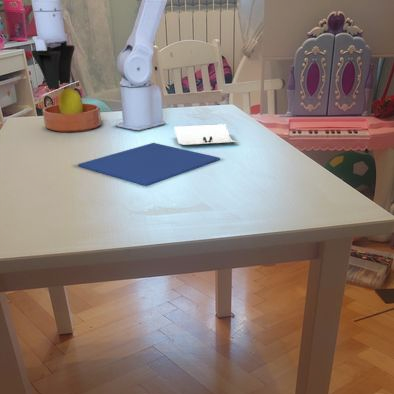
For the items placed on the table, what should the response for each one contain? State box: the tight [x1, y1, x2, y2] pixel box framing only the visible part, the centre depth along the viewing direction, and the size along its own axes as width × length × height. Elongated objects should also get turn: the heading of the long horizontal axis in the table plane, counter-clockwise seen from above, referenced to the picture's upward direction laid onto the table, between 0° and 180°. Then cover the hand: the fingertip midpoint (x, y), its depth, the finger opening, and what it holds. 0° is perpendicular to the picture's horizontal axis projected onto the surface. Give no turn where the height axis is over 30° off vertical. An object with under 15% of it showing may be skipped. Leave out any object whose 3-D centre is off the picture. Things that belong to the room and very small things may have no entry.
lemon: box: [58, 86, 83, 114], centre depth 116 cm, size 6×6×8 cm
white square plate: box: [173, 123, 240, 146], centre depth 106 cm, size 12×12×2 cm
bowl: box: [42, 102, 102, 133], centre depth 117 cm, size 13×13×4 cm
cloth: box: [77, 142, 221, 187], centre depth 93 cm, size 20×18×1 cm
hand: (59, 85), depth 109 cm, fingers open, 7 cm apart
